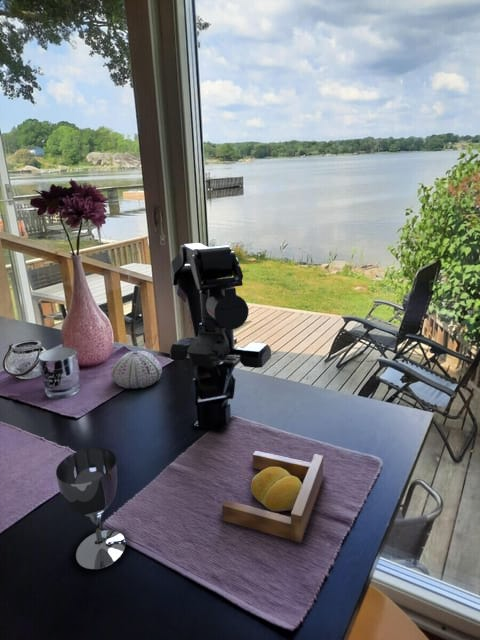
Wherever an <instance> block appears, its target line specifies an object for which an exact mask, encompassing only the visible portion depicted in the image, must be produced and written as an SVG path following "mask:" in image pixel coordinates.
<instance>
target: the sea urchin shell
mask: <svg viewBox="0 0 480 640" xmlns="http://www.w3.org/2000/svg"><path fill="white" fill-rule="evenodd" d="M162 367H163V366H162V364H161V363H160V361H159V360H158V359H157V357H155V355H153V354H152V353H150V352H148V351H147V350H146V351H145V350H137V351H129V352H127V353H125V354H124V355H122V356H121V357H120V358H119V359H118V360H116V363H114V366H112V370H111V373H110V376H111V378H112V381H114V383H115V384H116V385H118V386H119V387H122V388H124V389H128V390H129V389H132V390H133V389H141V388H142V389H144V388H146V387H150V386H152V385H153V384H155V383H156V382H158V381H159V380H160V379H161V377H162V373H163V368H162Z"/></svg>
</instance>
